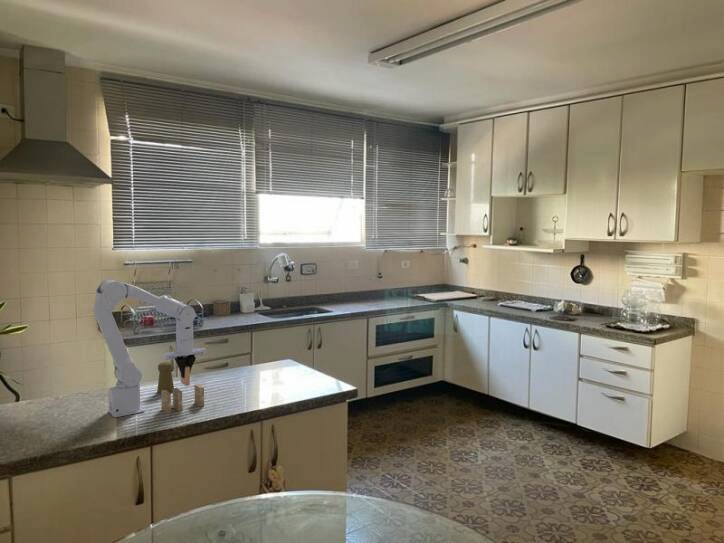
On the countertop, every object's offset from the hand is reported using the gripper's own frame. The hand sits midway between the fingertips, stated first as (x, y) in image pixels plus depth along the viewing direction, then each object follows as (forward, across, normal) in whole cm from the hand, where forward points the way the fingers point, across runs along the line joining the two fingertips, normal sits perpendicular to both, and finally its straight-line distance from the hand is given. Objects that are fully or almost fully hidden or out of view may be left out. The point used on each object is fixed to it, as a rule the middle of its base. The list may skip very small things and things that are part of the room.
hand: (185, 376), depth 192 cm
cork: (+9, +2, -14) cm, 16 cm away
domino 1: (+8, +9, +7) cm, 14 cm away
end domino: (+8, -2, +7) cm, 11 cm away
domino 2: (+2, 0, 0) cm, 3 cm away
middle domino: (+8, +6, +7) cm, 12 cm away
